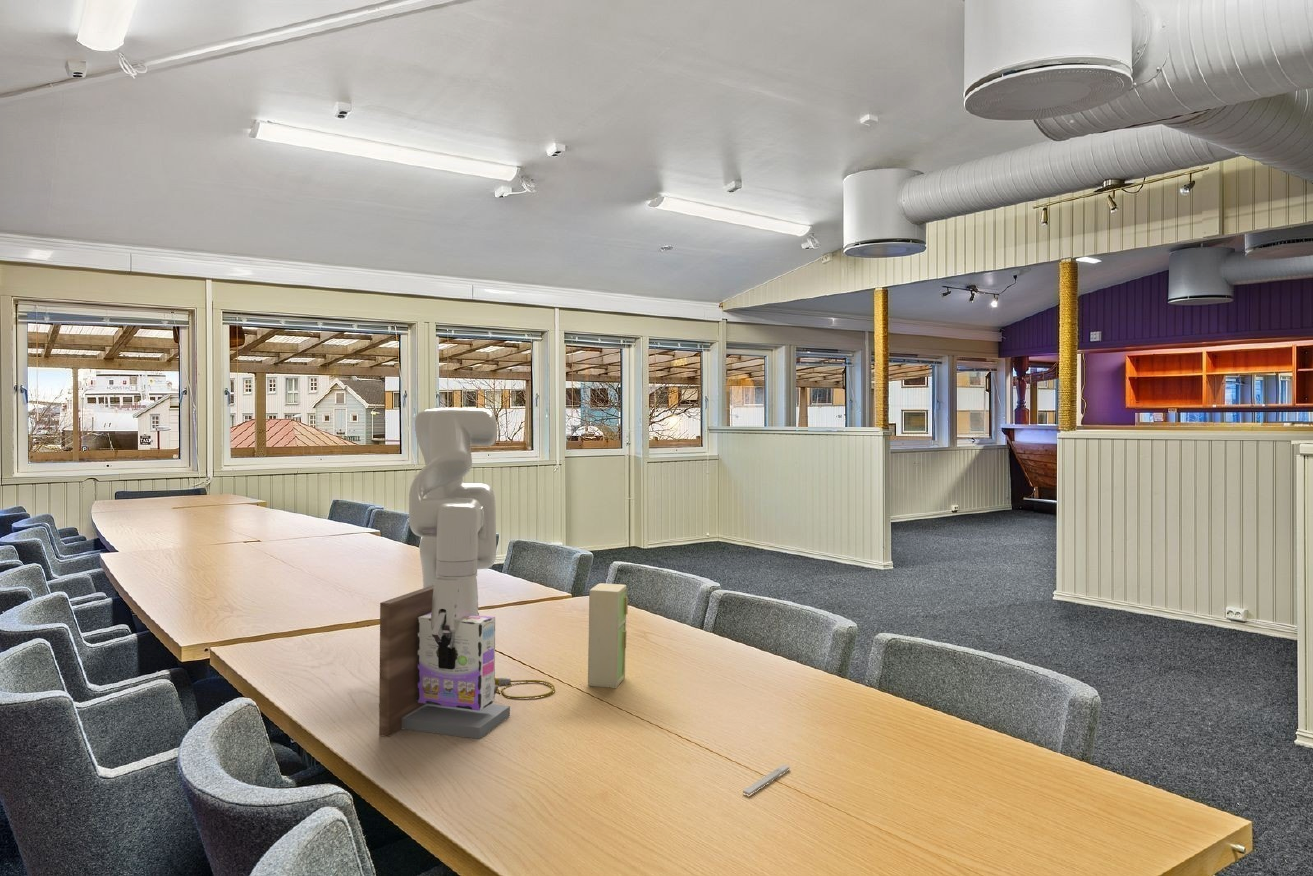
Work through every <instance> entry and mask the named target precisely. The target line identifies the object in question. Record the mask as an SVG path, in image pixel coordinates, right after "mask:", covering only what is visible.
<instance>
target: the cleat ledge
mask: <svg viewBox="0 0 1313 876" xmlns="http://www.w3.org/2000/svg"><path fill="white" fill-rule="evenodd" d="M509 716H510V717H511V706H510V705H505V704H496V703H495V704H494V703H492V704H490V705H488V706H486V707H485V708H483V709H481V710H480V711H479V710H470V709H463V708H456V707H447V706H441V705H433V704H425V705H423V706H421V707H420V708H418V709H416V710H415V711H413V712H411V713H409V714H408V715H406V716H404V717H403V718H402V729H401V730H408V731H415V732H416V731H417V732H424V733H429V734H430V733H431V734H437V735H439V734H440V735H445V736H446V735H447V736H453V737H454V736H455V737H460V738H468V737H469V739H477V740H480V739H482V738H483V737H484V736H486V735H487V734H488V733H490V732H491V731H492V730H493V728H494V729H495V728H496V727H497V725H498V726H499V725H500V724H502V723H503V722H504V721H506V720H507V719H508V718H510V717H509ZM505 719H506V720H505ZM481 737H482V738H481Z"/></svg>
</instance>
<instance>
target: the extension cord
mask: <svg viewBox="0 0 1313 876" xmlns="http://www.w3.org/2000/svg"><path fill="white" fill-rule="evenodd" d="M521 682H543V683H545V684H547V685H549V686H550V687H549V686H548V687H549V688H551V687H553V689H552V690H551V691H549V692H547V693H542V694H538V695H529V696H527V695H526V696H513V695H508V694H506V693H505V691H504V690H505V689H506V688H505V687H508V688H510V687H509V686H511V687H513V686H512V685H514V684H518V683H521ZM512 683H513V684H512ZM504 684H508V685H507V686H505V685H504ZM545 684H544V685H545ZM497 685H499V686H504V687H502V688H501V690H499V686H497ZM518 685H519V684H518ZM547 685H546V686H547ZM514 686H515V685H514ZM504 688H505V689H504ZM555 688H556V687H555V685H554V684H553V683H551V682H549V681H546V680H538V679H523V680H522V679H517V680H511V678H507V677H495V692H498V694H499V693H500V694H501V695H502V694H503V695H502V696H506V697H505V698H507V697H510V698H535V697H541V696H546V697H548V696H547V695H549V696H551V695H553V694H554V693H553V691H555V692H556V690H555ZM500 691H501V692H500ZM552 693H553V694H552ZM550 694H551V695H550ZM510 698H509V699H510Z"/></svg>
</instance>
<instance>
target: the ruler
mask: <svg viewBox="0 0 1313 876" xmlns="http://www.w3.org/2000/svg"><path fill="white" fill-rule="evenodd" d="M788 769H789V770H790V766H788V765H786V764H782V765H781V766H779V767H777V768H776V769H775V770H772V771H771V772H770V773H768V774H767V775H765V776H764V777H762V778H760V779H758V780H757V781H756V782H754V783H753V784H752V785H749V786H748V787H747V788H745V789H744V790H743V791H742V794H743V793H745V794H748V795H750V794H751V793H753V792H755V791H757V790H758V789H759V788H761V787H763V786H764V785H766V784H767V783H770V782H771V781H772V780H773V779H775V778H777V777H778V776H779V775H780V774H783V773H784V772H786V771H787V770H788ZM786 773H787V772H786ZM783 775H784V774H783ZM777 779H778V778H777ZM771 783H772V782H771ZM771 783H770V784H771Z"/></svg>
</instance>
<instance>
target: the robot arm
mask: <svg viewBox="0 0 1313 876" xmlns="http://www.w3.org/2000/svg"><path fill="white" fill-rule="evenodd" d="M414 419H415V420H414V431H415V435H416V436H415V437H416V441H417V444H418V446H419V448H420V452H421V454H422V457H423V460H424V463H425V466H423V468H422V469H420V471H419V472H418V473H417V474H416V475H415V477H414V478H413V480H412V482H411V485H410V487H409V493H408V523H409V528H410V530H411V532H412V533H413V535H415V536H417V537H421V539H420V542H419V556H420V562H421V563H420V565H421V570H422V572H421V573H422V589H423V588H426V587H429V586H432V585H434V590H433V598H432V611H431V629H432V636H433V637H434V638H435V641H436V642H437V647H439V648H438V667H439V668H442V669H451V670H452V669H454V668H455V647H453V644H454V639H455V632H456V631H458V628H459V622H460V621H461V620H463V619H464V618H466V617H469V616H471V615H478V616H480V613H479V591H478V580H477V576H478V570H486V569H490V568H492V566H493V565H494V564H495V562H496V558H497V514H496V512H497V511H496V497H495V494H494V490H493V488H492V487H491V486H490V485H489V484H486V483H481V482H479V483H477V482H475V483H470V482H469V483H466V482H464V477H465V476H467V475H468V473H469V472H470V471H471V469H472V465H473V459H472V450H471V449H472V447H491V446H493V445H494V444H495V442H496V441H497V436H498V422H497V419H496V416H495V414H494V412H493V411H492V410H490V409H489V408H483V407H482V408H480V407H474V408H473V407H445V408H429V409H427V408H426V409H424V410H421V411H419V412H418V413H417V414H416V416H415V418H414ZM424 497H425V498H424ZM444 627H450V629H449V630H444ZM445 634H450V635H449V640H448V638H447V637H446V636H444V635H445Z"/></svg>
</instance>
